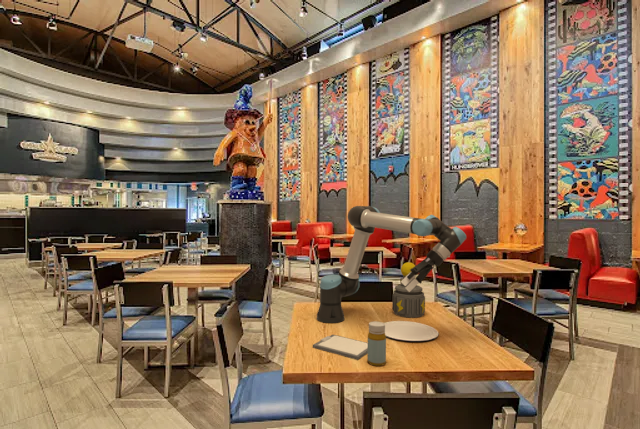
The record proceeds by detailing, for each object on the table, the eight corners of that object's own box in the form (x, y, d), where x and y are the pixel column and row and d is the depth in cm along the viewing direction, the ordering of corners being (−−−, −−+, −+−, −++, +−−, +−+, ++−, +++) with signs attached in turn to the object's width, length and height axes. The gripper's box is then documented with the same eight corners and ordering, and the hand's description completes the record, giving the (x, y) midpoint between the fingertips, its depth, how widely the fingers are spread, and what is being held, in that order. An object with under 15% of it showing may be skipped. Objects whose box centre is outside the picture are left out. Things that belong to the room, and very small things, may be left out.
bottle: (365, 359, 136) (366, 321, 136) (383, 358, 136) (383, 320, 137) (369, 366, 129) (370, 326, 129) (388, 366, 129) (388, 326, 130)
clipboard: (312, 347, 147) (312, 342, 147) (332, 336, 161) (332, 332, 161) (358, 360, 135) (358, 354, 135) (375, 347, 148) (375, 342, 148)
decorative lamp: (402, 307, 214) (403, 259, 214) (431, 313, 201) (431, 262, 201) (385, 313, 201) (386, 262, 201) (415, 320, 187) (415, 265, 188)
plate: (388, 320, 188) (388, 317, 188) (444, 330, 173) (444, 326, 173) (367, 336, 163) (367, 332, 163) (430, 348, 148) (430, 344, 148)
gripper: (443, 252, 146) (407, 287, 146) (445, 267, 168) (414, 297, 167) (429, 241, 150) (394, 275, 150) (433, 257, 172) (403, 286, 171)
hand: (405, 287), depth 159 cm, fingers open, 13 cm apart
